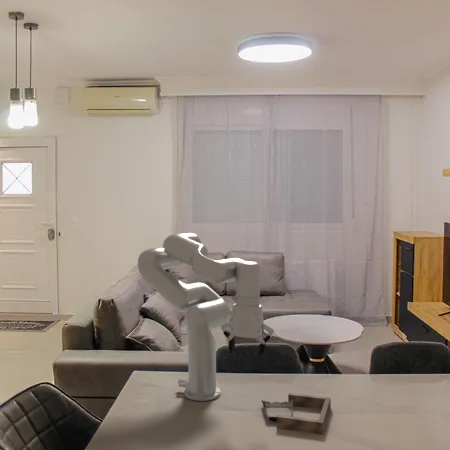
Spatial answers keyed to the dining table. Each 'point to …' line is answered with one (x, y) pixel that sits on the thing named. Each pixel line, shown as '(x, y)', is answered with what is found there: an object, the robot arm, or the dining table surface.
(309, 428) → the frame
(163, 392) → the dining table surface
